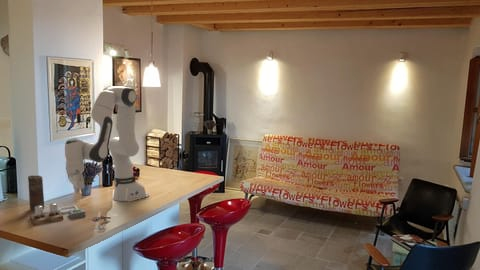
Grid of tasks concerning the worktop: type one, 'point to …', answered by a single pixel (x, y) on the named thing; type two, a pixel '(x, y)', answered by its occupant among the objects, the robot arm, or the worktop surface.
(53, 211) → the cylinder
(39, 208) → the seated billet
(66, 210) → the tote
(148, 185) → the worktop surface
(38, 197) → the brown rounded piece
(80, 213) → the grey square holed block
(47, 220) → the wooden holder frame
